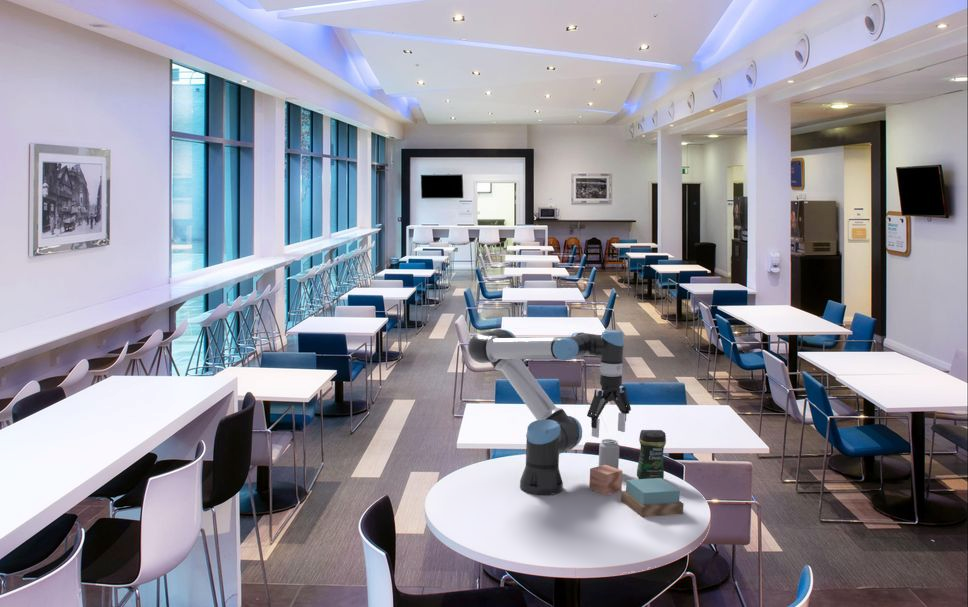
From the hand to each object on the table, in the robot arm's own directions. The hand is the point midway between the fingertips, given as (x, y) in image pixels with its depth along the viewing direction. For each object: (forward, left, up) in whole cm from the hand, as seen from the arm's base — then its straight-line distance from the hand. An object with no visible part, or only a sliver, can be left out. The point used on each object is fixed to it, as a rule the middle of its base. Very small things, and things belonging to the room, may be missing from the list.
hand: (608, 434), depth 276 cm
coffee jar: (+22, +8, -21) cm, 31 cm away
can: (+10, +19, -21) cm, 30 cm away
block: (0, 0, -20) cm, 20 cm away
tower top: (+8, -19, -17) cm, 26 cm away
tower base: (+8, -19, -21) cm, 29 cm away
